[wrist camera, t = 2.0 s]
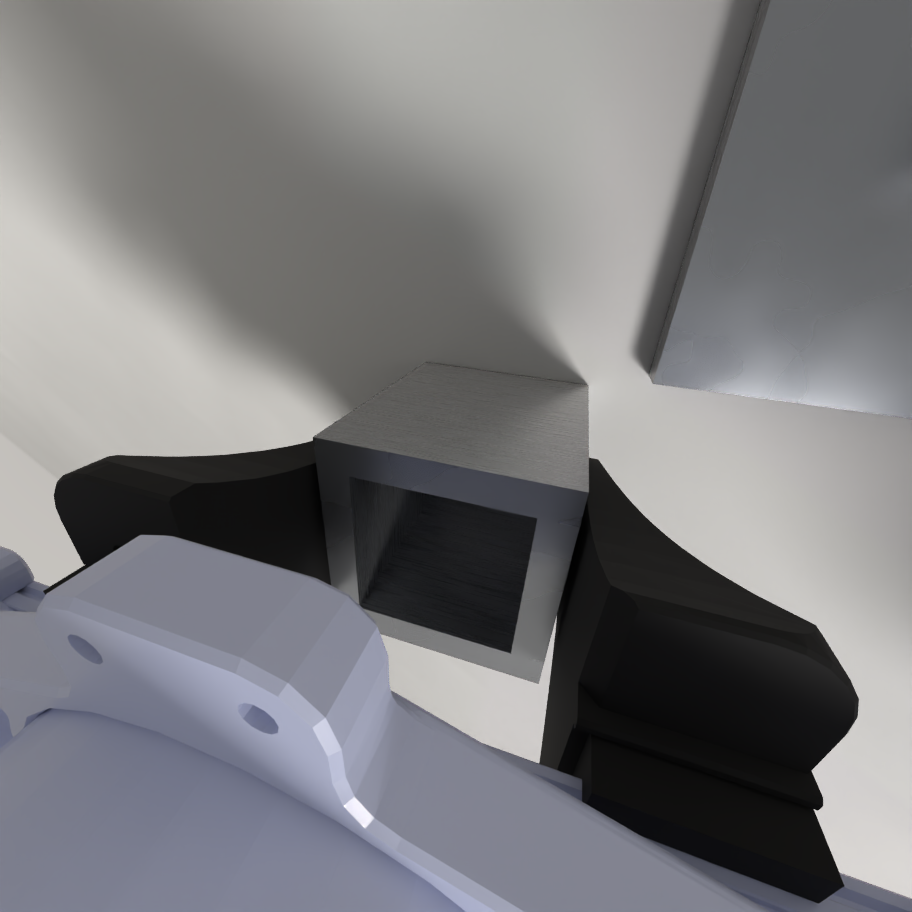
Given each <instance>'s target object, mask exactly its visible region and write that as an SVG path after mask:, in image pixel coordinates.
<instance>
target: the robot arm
mask: <svg viewBox="0 0 912 912" xmlns="http://www.w3.org/2000/svg"><path fill="white" fill-rule="evenodd" d="M54 499H55V505H56V509H57V511H58V514H59V516H60V519H61V521H62V523H63V525H64V527H65V529H66V531H67V533H68V535H69V536H70V538H71V540H72V542H73V544H74V546H75V548H76V550H77V552H78V554H79V556H80V558H81V560H82V562H83V563H84V564H85V566H83V567H81V568H80V569H78V570H77V571H75V572H73V573H72V574H70V575H68V576H67V577H66V578H63V579H62V580H60V581H59V582H57V583H55V584H54V585H52V586H50V587H49V586H47V585H44V584H41V583H39V582H35V581H34V576H33V574H32V572H31V570H30V568H29V567H28V565H27V564H26V562H25V561H24V560H23V559H22V558H21V557H20V556H19V555H18V554H17V553H15V552H14V551H12V550H10V549H7V548H4V547H1V546H0V912H912V899H911V898H908V897H905V896H903V895H900V894H897V893H894V892H892V891H889V890H886V889H883V888H881V887H878V886H875V885H872V884H869V883H867V882H864V881H861V880H858V879H856V878H853V877H850V876H847V875H845V874H842V873H839V871H838V868H837V866H836V864H835V861H834V859H833V856H832V854H831V851H830V849H829V846H828V844H827V841H826V839H825V836H824V834H823V832H822V829H821V827H820V824H819V822H818V819H817V817H816V814H815V812H814V809H815V810H819V809H820V808H821V807H823V797H822V794H821V792H820V790H819V788H818V785H817V783H816V781H815V778H814V776H813V774H812V771H811V770H812V769H813V768H814V767H815V766H816V765H817V764H818V763H819V762H820V761H821V760H822V759H823V758H824V757H825V756H826V755H827V754H828V753H829V752H830V751H831V750H832V749H833V748H834V747H835V746H836V745H837V744H838V743H839V742H840V741H841V740H842V739H843V738H844V736H845V735H846V734H847V733H848V731H849V730H850V728H851V727H852V725H853V724H854V722H855V720H856V719H857V716H858V703H859V699H858V696H857V694H856V692H855V689H854V687H853V685H852V683H851V680H850V679H849V677H848V676H847V674H846V672H845V671H844V669H843V667H842V666H841V664H840V663H839V661H838V659H837V658H836V656H835V655H834V653H833V651H832V650H831V648H830V646H829V645H828V643H827V642H826V640H825V638H824V637H823V635H822V634H821V632H820V631H819V629H818V628H817V626H816V625H814V624H812V623H810V622H808V621H806V620H804V619H802V618H800V617H798V616H796V615H794V614H792V613H790V612H788V611H786V610H784V609H782V608H780V607H778V606H776V605H774V604H772V603H771V602H769V601H767V600H765V599H763V598H761V597H759V596H757V595H755V594H753V593H751V592H750V591H748V590H746V589H744V588H743V587H741V586H739V585H738V584H736V583H734V582H732V581H731V580H729V579H727V578H726V577H724V576H722V575H721V574H719V573H718V572H716V571H714V570H713V569H711V568H710V567H708V566H707V565H705V564H704V563H702V562H701V561H699V560H698V559H697V558H695V557H694V556H692V555H691V554H690V553H688V552H687V551H685V550H684V549H682V548H681V547H680V546H679V545H677V544H676V543H675V542H673V541H672V540H671V539H670V538H668V537H667V536H666V535H665V534H664V533H663V532H661V531H660V530H659V529H658V528H657V527H656V526H655V525H653V524H652V523H651V522H650V521H649V520H648V519H647V518H646V517H645V516H644V515H643V514H642V513H641V512H640V511H639V510H638V509H637V508H636V507H635V506H634V505H633V504H632V502H631V501H630V500H629V499H628V498H627V497H626V496H625V494H624V493H623V492H622V491H621V490H620V488H619V487H618V486H617V485H616V483H615V482H614V481H613V479H612V478H611V477H610V475H609V474H608V473H607V471H606V470H605V468H604V467H603V466H602V464H601V463H600V461H599V460H598V459H593V458H589V494H588V498H587V501H586V505H585V509H584V513H583V517H582V520H581V524H580V528H579V532H578V536H577V539H576V543H575V547H574V551H573V555H572V558H571V562H570V566H569V570H568V574H567V577H566V581H565V585H564V589H563V593H562V596H561V600H560V604H559V608H558V612H557V623H556V633H555V642H554V651H553V660H552V668H551V676H550V685H549V693H548V701H547V709H546V717H545V725H544V733H543V741H542V748H541V756H540V763H539V764H538V763H535V762H533V761H530V760H527V759H524V758H522V757H519V756H516V755H513V754H511V753H508V752H505V751H502V750H500V749H497V748H494V747H491V746H489V745H486V744H483V743H481V742H479V741H477V740H475V739H474V738H472V737H470V736H469V735H467V734H465V733H463V732H462V731H460V730H458V729H457V728H455V727H453V726H451V725H450V724H448V723H446V722H445V721H443V720H441V719H440V718H438V717H436V716H434V715H433V714H431V713H429V712H428V711H426V710H424V709H422V708H421V707H419V706H417V705H416V704H414V703H412V702H410V701H409V700H407V699H405V698H404V697H402V696H400V695H398V694H397V693H395V692H393V691H391V690H390V685H389V663H388V654H387V651H386V649H385V646H384V643H383V641H382V638H381V635H380V632H379V630H378V627H377V625H376V622H375V620H374V619H373V618H372V617H371V616H370V615H369V614H368V613H367V612H366V611H365V610H364V609H363V608H362V607H361V606H360V605H359V604H358V603H357V602H356V601H355V600H354V599H353V598H352V597H351V596H350V595H349V594H347V593H345V592H343V591H341V590H339V589H337V588H335V587H333V586H331V579H330V571H329V563H328V555H327V547H326V539H325V531H324V522H323V514H322V506H321V498H320V490H319V482H318V474H317V466H316V457H315V449H314V441H310V442H307V443H302V444H298V445H293V446H288V447H283V448H277V449H271V450H265V451H257V452H247V453H238V454H229V455H214V456H189V457H159V456H125V455H115V456H109V457H106V458H103V459H101V460H99V461H96V462H94V463H92V464H89V465H87V466H84V467H82V468H80V469H77V470H75V471H73V472H70V473H68V474H65V475H63V476H62V477H61V478H60V479H59V481H58V482H57V484H56V488H55V493H54Z"/></svg>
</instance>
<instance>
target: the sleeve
mask: <svg viewBox="0 0 912 912" xmlns="http://www.w3.org/2000/svg"><path fill="white" fill-rule="evenodd" d="M313 441H314V449H315V457H316V466H317V474H318V482H319V490H320V498H321V506H322V514H323V522H324V531H325V539H326V547H327V555H328V563H329V571H330V579H331V586H333V587H335V588H337V589H339V590H341V591H343V592H345V593H347V594H349V595H350V596H351V597H352V598H353V599H354V600H355V601H356V602H357V603H358V604H359V605H360V606H361V607H362V608H363V609H364V610H365V611H366V612H367V613H368V614H369V615H370V616H371V617H372V618H373V619H374V620H375V622H376V625H377V627H378V630H379V632H380V634H383V635H386V636H389V637H392V638H395V639H398V640H402V641H405V642H408V643H411V644H414V645H417V646H420V647H424V648H427V649H430V650H433V651H436V652H439V653H443V654H446V655H449V656H452V657H455V658H458V659H462V660H465V661H468V662H471V663H474V664H477V665H480V666H484V667H487V668H490V669H493V670H496V671H499V672H503V673H506V674H509V675H512V676H515V677H518V678H522V679H525V680H528V681H531V682H534V683H537V684H539V680H540V676H541V672H542V668H543V665H544V661H545V657H546V653H547V649H548V646H549V642H550V638H551V634H552V631H553V627H554V623H555V619H556V615H557V612H558V608H559V604H560V600H561V596H562V593H563V589H564V585H565V581H566V577H567V574H568V570H569V566H570V562H571V558H572V555H573V551H574V547H575V543H576V539H577V536H578V532H579V528H580V524H581V520H582V517H583V513H584V509H585V505H586V501H587V498H588V494H589V416H588V385H583V384H576V383H569V382H562V381H555V380H548V379H541V378H534V377H526V376H519V375H512V374H505V373H498V372H491V371H484V370H477V369H470V368H463V367H456V366H449V365H442V364H435V363H427V362H425V363H424V364H422V365H421V366H419V367H418V368H416V369H415V370H413V371H412V372H410V373H409V374H407V375H406V376H404V377H403V378H401V379H400V380H398V381H397V382H395V383H394V384H392V385H391V386H389V387H388V388H386V389H385V390H383V391H382V392H380V393H379V394H377V395H376V396H374V397H373V398H371V399H370V400H368V401H367V402H365V403H364V404H362V405H361V406H359V407H358V408H356V409H355V410H353V411H352V412H350V413H349V414H347V415H346V416H344V417H342V418H341V419H339V420H338V421H336V422H335V423H333V424H332V425H330V426H329V427H327V428H326V429H324V430H323V431H321V432H320V433H318V434H317V435H315V436H314V437H313Z"/></svg>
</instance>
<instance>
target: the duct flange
mask: <svg viewBox="0 0 912 912" xmlns="http://www.w3.org/2000/svg"><path fill="white" fill-rule="evenodd" d="M649 377H650V379H651V381H652V383H653V384H659V385H666V386H673V387H681V388H688V389H696V390H703V391H710V392H718V393H725V394H732V395H740V396H747V397H755V398H762V399H769V400H777V401H784V402H791V403H799V404H806V405H813V406H821V407H828V408H836V409H843V410H850V411H858V412H865V413H872V414H880V415H887V416H895V417H902V418H909V419H912V0H761V2H760V5H759V9H758V12H757V15H756V19H755V22H754V25H753V29H752V32H751V35H750V39H749V42H748V46H747V49H746V52H745V56H744V59H743V62H742V66H741V69H740V72H739V76H738V79H737V82H736V86H735V89H734V92H733V96H732V99H731V102H730V106H729V109H728V112H727V116H726V119H725V122H724V126H723V129H722V132H721V136H720V139H719V142H718V146H717V149H716V152H715V156H714V159H713V162H712V166H711V169H710V173H709V176H708V179H707V183H706V186H705V189H704V193H703V196H702V199H701V203H700V206H699V209H698V213H697V216H696V219H695V223H694V226H693V229H692V233H691V236H690V239H689V243H688V246H687V249H686V253H685V256H684V259H683V263H682V266H681V269H680V273H679V276H678V279H677V283H676V286H675V289H674V293H673V296H672V299H671V303H670V306H669V310H668V313H667V316H666V320H665V323H664V326H663V330H662V333H661V336H660V340H659V343H658V346H657V350H656V353H655V356H654V360H653V363H652V366H651V370H650V373H649Z"/></svg>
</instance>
